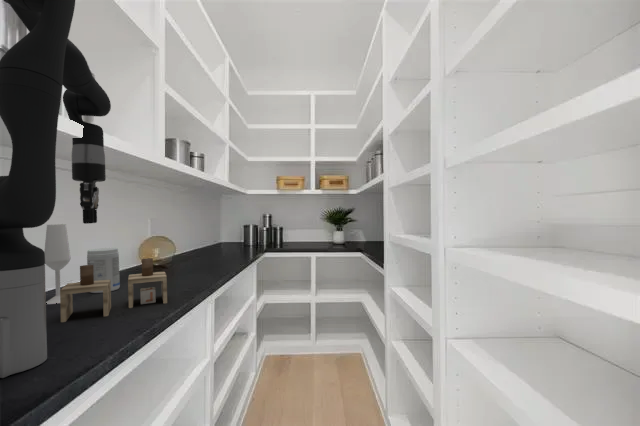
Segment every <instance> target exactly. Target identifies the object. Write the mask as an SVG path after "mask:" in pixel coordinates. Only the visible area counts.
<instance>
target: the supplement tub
mask: <svg viewBox="0 0 640 426" xmlns="http://www.w3.org/2000/svg"><path fill="white" fill-rule="evenodd" d="M86 253H87V254H86V255H87V256H86V260H87V261H86V262H87V263H86V265H93V267H94V281H98V280H109V279H111V292H113V291H117V290H119V289H120V286H121V282H120V279H121V278H120V256H119V255H120V254H119V253H120V252H119V249H118V248H117V247H105V248H95V249H89V250H87V252H86ZM90 293H92V294H103V291H93V292H90Z"/></svg>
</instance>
